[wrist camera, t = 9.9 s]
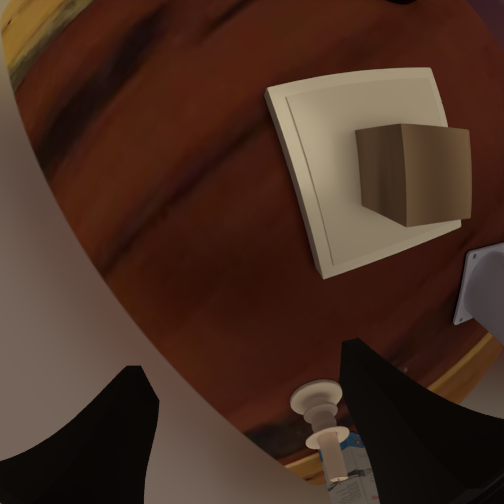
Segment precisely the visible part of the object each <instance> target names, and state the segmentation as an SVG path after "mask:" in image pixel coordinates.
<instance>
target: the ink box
mask: <svg viewBox="0 0 504 504" xmlns="http://www.w3.org/2000/svg"><path fill="white" fill-rule="evenodd" d="M339 444H340V448H341V452H342V455H343V459H344V463H345V467H346V471H347V476H348V479H346V480H342V481H340V483H341V485H340V484H339V481H336V482H332V481H330V480H329V478H328V474H327V471H326V468H325V465H324V461H323V457H322V454H321V450H320V449H318V450H319V454H320V458H321V462H322V466H323V470H324V475H325V479H326V483H327V487H328V491H329V495H330V500H331V504H380V502H379V497H378V492H377V488H376V483H375V479H374V475H373V472H372V468H371V464H370V461H369V458H368V455H367V452H366V449H365V447H364V445H363V442H362V440H361V438H360V435H359V434H357V433H354V432H350V431H349V435H348V437H347V438H346V439H345V440H344V441H342V442H341V443H339Z"/></svg>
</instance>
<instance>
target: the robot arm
mask: <svg viewBox="0 0 504 504" xmlns="http://www.w3.org/2000/svg"><path fill="white" fill-rule="evenodd" d="M471 318H474V319H475V320H477V321H478V322H479V323H480V324H481V325H482V326H483V327H484V328H485V329H486V330H488V331H489V332H490V333H491V334H492V335H493V336H494V337H495V338H496V339H497V340H498V341H499V342H500V343H501V344H502V345H503V346H504V242H502V243H499V244H495V245H491V246H487V247H483V248H479V249H475V250H471V251H469V252H468V253H467V255H466V260H465V266H464V272H463V278H462V283H461V288H460V293H459V298H458V302H457V307H456V311H455V315H454V318H453V323H454V324H455V325H457V324H460V323H462V322H464V321H467V320H469V319H471ZM339 382H340V386H341V389H342V393H343V396H344V399H345V403H346V405H347V408H348V410H349V412H350V415H351V417H352V419H353V422H354V424H355V426H356V429H357V431H358V433H359V435H360V438H361V440H362V442H363V445H364V447H365V449H366V452H367V455H368V458H369V461H370V464H371V468H372V472H373V475H374V479H375V483H376V488H377V492H378V497H379V502H380V504H504V419H501V418H496V417H493V416H489V415H485V414H482V413H479V412H476V411H473V410H470V409H467V408H465V407H462V406H460V405H457V404H455V403H453V402H451V401H448V400H446V399H445V398H443V397H441V396H439V395H437V394H435V393H433V392H431V391H429V390H428V389H426V388H424V387H423V386H421V385H420V384H418V383H417V382H415V381H413V380H412V379H411V378H409V377H408V376H406V375H405V374H403V373H402V372H401V371H399V370H398V369H397V368H395V367H394V366H393V365H391V364H390V363H389V362H387V361H386V360H385V359H384V358H382V357H381V356H380V355H379V354H377V353H376V352H375V351H374V350H373V349H371V348H370V347H369V346H368V345H367V344H365V343H364V342H363V341H362V340H360V339H359V338H356V339H352V340H348V341H343V342H342V352H341V366H340V377H339ZM158 412H159V399H158V398H157V396H156V394H155V392H154V390H153V388H152V386H151V385H150V383H149V381H148V379H147V377H146V375H145V373H144V371H143V369H142V367H141V366H126V367H125V368H124V369H123V370H122V371H121V372H120V373H119V374H118V375H117V376H116V377H115V378H114V379H113V380H112V381H111V382H110V383H109V384H108V385H107V386H106V387H105V388H104V389H103V390H102V391H101V392H100V394H98V395H97V396H96V397H95V398H94V399H93V401H92V402H91V403H89V404H88V405H87V407H85V408H84V409H83V410H82V411H81V412H80V413H79V414H78V415H77V416H76V417H75V418H74V419H72V420H71V421H70V422H69V423H68V424H66V425H65V426H64V427H63V428H61V429H60V430H59V431H58V432H56V433H55V434H53V435H52V436H51V437H49V438H47V439H46V440H44V441H43V442H41V443H39V444H38V445H36V446H35V447H33V448H31V449H29V450H27V451H25V452H23V453H21V454H18V455H16V456H14V457H11V458H8V459H6V460H2V461H0V503H1V504H144V488H145V477H146V470H147V466H148V461H149V456H150V452H151V448H152V444H153V440H154V436H155V431H156V427H157V421H158Z"/></svg>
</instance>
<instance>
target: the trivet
mask: <svg viewBox="0 0 504 504" xmlns="http://www.w3.org/2000/svg"><path fill="white" fill-rule="evenodd" d="M264 97H265V100H266V103H267V105H268V108H269V111H270V114H271V117H272V120H273V123H274V126H275V129H276V132H277V135H278V138H279V141H280V144H281V147H282V150H283V153H284V156H285V159H286V163H287V166H288V169H289V172H290V176H291V179H292V182H293V186H294V189H295V192H296V196H297V199H298V203H299V206H300V210H301V213H302V217H303V221H304V224H305V228H306V232H307V235H308V239H309V243H310V247H311V251H312V255H313V259H314V263H315V267H316V269H317V270H318V272H319V273H320V275H321V276H322V278H323V279H326V278H329V277H332V276H335V275H338V274H341V273H344V272H346V271H349V270H352V269H355V268H358V267H360V266H363V265H366V264H369V263H371V262H374V261H377V260H380V259H382V258H385V257H388V256H390V255H393V254H395V253H398V252H401V251H403V250H406V249H408V248H411V247H413V246H416V245H418V244H421V243H423V242H426V241H428V240H431V239H433V238H436V237H438V236H441V235H443V234H445V233H448V232H450V231H452V230H455V229H457V228H459V227H461V220H454V221H447V222H441V223H434V224H427V225H420V226H414V227H407V228H406V227H404V226H402V225H400V224H398V223H396V222H394V221H392V220H390V219H388V218H386V217H384V216H382V215H380V214H378V213H376V212H374V211H372V210H370V209H368V208H366V207H363V206H362V202H361V186H360V173H359V162H358V152H357V143H356V135H355V130H359V129H365V128H371V127H378V126H385V125H392V124H400V123H404V124H419V125H431V126H441V127H448V125H447V121H446V117H445V113H444V109H443V105H442V102H441V98H440V95H439V92H438V88H437V85H436V82H435V79H434V76H433V73H432V71H431V68H393V69H377V70H366V71H356V72H348V73H340V74H333V75H327V76H321V77H315V78H310V79H304V80H299V81H295V82H290V83H286V84H281V85H277V86H273V87H269V88H267V89H266V92H265V94H264Z"/></svg>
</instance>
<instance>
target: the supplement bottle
mask: <svg viewBox="0 0 504 504" xmlns="http://www.w3.org/2000/svg"><path fill="white" fill-rule="evenodd" d="M392 1H395V2H400V3H412V2H415V1H417V0H392Z"/></svg>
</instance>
